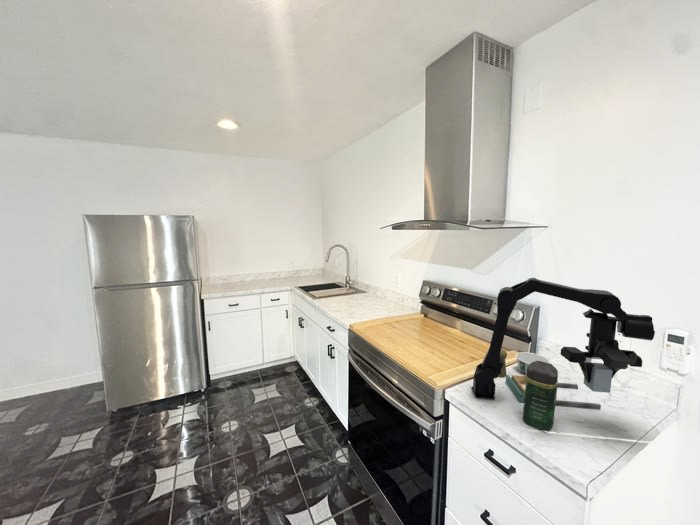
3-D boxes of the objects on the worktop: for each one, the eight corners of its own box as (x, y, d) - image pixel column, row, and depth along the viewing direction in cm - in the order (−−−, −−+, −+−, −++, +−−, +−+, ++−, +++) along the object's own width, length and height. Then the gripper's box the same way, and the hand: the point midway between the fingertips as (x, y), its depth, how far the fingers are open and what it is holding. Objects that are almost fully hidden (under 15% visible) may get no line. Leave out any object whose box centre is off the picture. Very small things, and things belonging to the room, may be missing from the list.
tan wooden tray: (522, 400, 100) (523, 389, 99) (510, 384, 110) (511, 374, 109) (554, 403, 98) (555, 391, 98) (540, 386, 108) (541, 376, 108)
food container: (530, 364, 127) (531, 350, 126) (556, 378, 116) (557, 363, 115) (507, 368, 124) (508, 353, 123) (532, 382, 112) (533, 366, 112)
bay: (516, 406, 98) (516, 396, 97) (499, 381, 113) (500, 372, 113) (603, 414, 93) (604, 403, 93) (573, 387, 109) (574, 378, 109)
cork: (508, 379, 115) (510, 353, 113) (492, 378, 116) (493, 352, 114) (504, 372, 120) (505, 347, 119) (488, 371, 122) (489, 345, 120)
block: (592, 391, 86) (595, 369, 85) (583, 383, 91) (585, 362, 90) (610, 392, 86) (612, 370, 85) (599, 384, 90) (602, 363, 89)
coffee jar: (551, 436, 84) (557, 375, 81) (520, 424, 89) (524, 367, 86) (555, 419, 91) (560, 363, 89) (525, 409, 96) (530, 356, 94)
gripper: (584, 342, 80) (578, 395, 82) (662, 346, 77) (655, 401, 79) (561, 328, 91) (557, 375, 93) (629, 331, 88) (624, 380, 89)
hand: (596, 383), depth 88 cm, fingers closed on block, 4 cm apart
